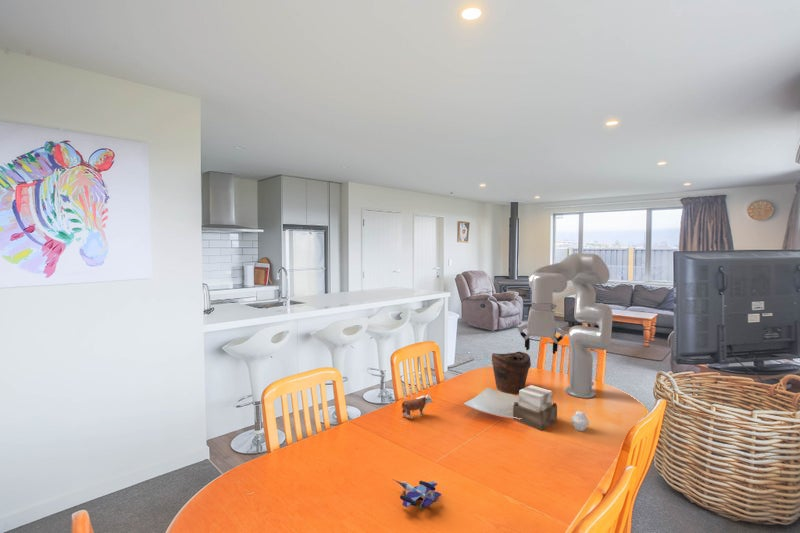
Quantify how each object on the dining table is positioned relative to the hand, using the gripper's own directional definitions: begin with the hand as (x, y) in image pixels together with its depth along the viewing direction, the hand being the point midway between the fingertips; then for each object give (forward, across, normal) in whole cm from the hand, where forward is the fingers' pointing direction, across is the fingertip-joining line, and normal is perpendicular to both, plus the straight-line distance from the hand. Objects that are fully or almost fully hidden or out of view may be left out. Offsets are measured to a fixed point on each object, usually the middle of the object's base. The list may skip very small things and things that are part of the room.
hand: (540, 351), depth 153 cm
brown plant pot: (+29, +18, -33) cm, 47 cm away
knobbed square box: (+28, +2, -2) cm, 29 cm away
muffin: (+29, -14, -3) cm, 32 cm away
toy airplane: (+30, +22, +64) cm, 74 cm away
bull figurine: (+29, +45, +16) cm, 56 cm away
